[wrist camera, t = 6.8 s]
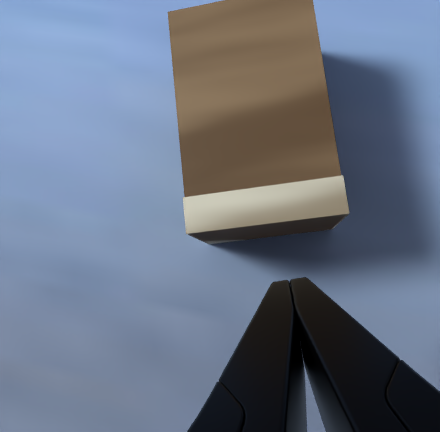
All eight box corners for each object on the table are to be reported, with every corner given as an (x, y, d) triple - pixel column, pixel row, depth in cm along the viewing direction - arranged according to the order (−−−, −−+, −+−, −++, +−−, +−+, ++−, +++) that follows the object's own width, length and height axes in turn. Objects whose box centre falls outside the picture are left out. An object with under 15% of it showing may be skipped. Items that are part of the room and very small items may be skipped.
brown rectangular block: (349, 213, 12) (311, -19, 13) (186, 234, 13) (165, 11, 14) (332, 229, 16) (304, 50, 17) (209, 244, 17) (191, 70, 18)
